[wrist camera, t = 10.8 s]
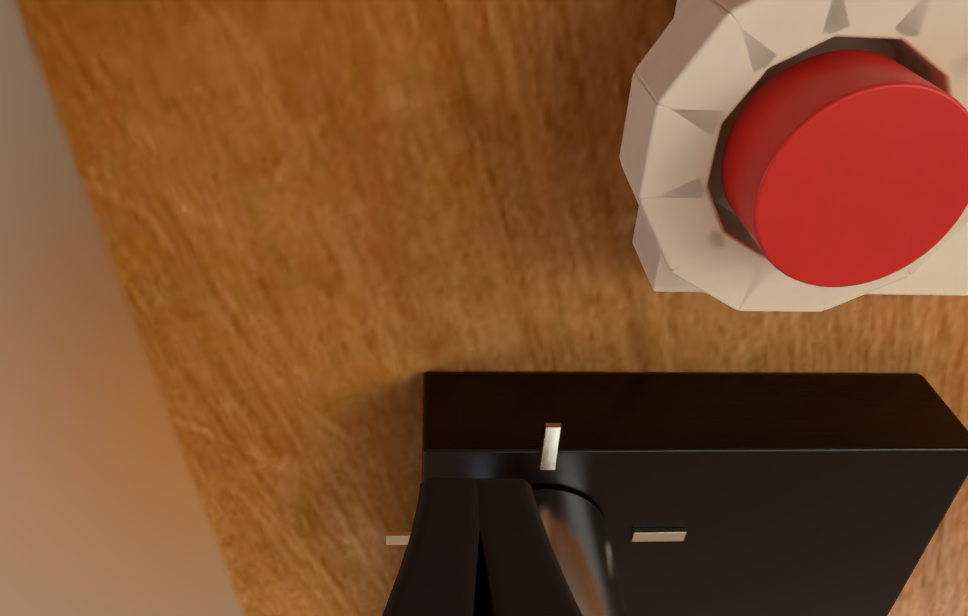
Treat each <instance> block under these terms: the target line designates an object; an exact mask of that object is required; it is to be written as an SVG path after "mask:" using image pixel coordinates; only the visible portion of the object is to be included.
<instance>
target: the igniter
mask: <svg viewBox="0 0 968 616" xmlns="http://www.w3.org/2000/svg"><path fill="white" fill-rule="evenodd" d="M853 49H856V50H865V51H871V52H875V53H878V54H882V55H884V56H886V57H888V58H891V59H893V60H894V61H896V62H898V63H899V64H901V65H903V66H904V67H906V68H907V69H909V70H911V71H912V72H914V73H916V74H917V75H919V76H920V77H922V78H924V79H925V80H927V81H929V82H930V83H932V84H933V85H935V86H937V87H938V88H940V89H942V90H943V91H945V92H946V93H948V94H949V95H951V96H952V97H954V98H955V99H957V100H958V101H959V102H960V103H961V104H962V105H963V106H964V107H965V108H966V110H967V111H968V0H677V2H676V8H675V13H674V18H673V19H672V21H671V22H670V23H669V25H668V26H667V27H666V29H665V30H664V31H663V33H662V34H661V36H660V37H659V38H658V40H657V41H656V42H655V44H654V45H653V46H652V48H651V49H650V50H649V52H648V53H647V54H646V56H645V57H644V58H643V60H642V61H641V62H640V64H639V65H638V66H637V68H636V70H635V72H634V73H633V76H632V83H631V89H630V95H629V101H628V107H627V113H626V119H625V126H624V132H623V138H622V144H621V150H620V156H619V158H620V160H621V166H622V168H623V171H624V173H625V175H626V177H627V180H628V182H629V184H630V187H631V189H632V191H633V193H634V196H635V198H636V200H637V202H638V205H639V208H638V213H637V219H636V224H635V230H634V235H633V241H632V243H633V246H634V248H635V250H636V253H637V255H638V257H639V260H640V262H641V264H642V266H643V269H644V271H645V273H646V276H647V278H648V280H649V282H650V285H651V287H652V289H653V291H655V292H705V293H707V294H709V295H711V296H712V297H714V298H716V299H717V300H719V301H721V302H723V303H724V304H726V305H728V306H729V307H731V308H733V309H735V310H738V311H784V312H821V311H825V310H828V309H830V308H833V307H835V306H837V305H840V304H842V303H845V302H847V301H850V300H852V299H854V298H857V297H859V296H862V295H864V294H878V295H957V296H968V204H967V206H966V208H965V210H964V211H963V213H962V214H961V216H960V218H959V219H958V221H957V222H956V223H955V224H954V226H953V227H952V228H951V229H950V231H949V232H948V233H947V234H946V235H945V236H944V237H943V238H942V239H941V240H940V241H939V242H938V243H937V244H936V245H935V246H934V247H933V248H931V249H930V250H929V251H928V252H927V253H925V254H924V255H923V256H921V257H920V258H918V259H917V260H916V261H914V262H913V263H911V264H909V265H908V266H906V267H904V268H902V269H901V270H899V271H897V272H895V273H892V274H890V275H888V276H886V277H883V278H880V279H878V280H875V281H872V282H868V283H864V284H860V285H854V286H848V287H820V286H815V285H810V284H806V283H803V282H800V281H797V280H794V279H792V278H790V277H788V276H787V275H785V274H783V273H782V272H780V271H779V270H778V269H776V268H775V267H774V266H773V265H772V264H771V263H770V262H769V261H768V260H767V258H766V257H765V255H764V254H763V252H762V251H761V250H760V248H759V247H758V245H757V244H756V242H755V241H754V240H753V238H752V237H751V235H750V234H749V232H748V231H747V230H746V228H745V227H744V225H743V224H742V222H741V221H740V220H739V218H738V217H737V215H736V214H735V212H734V211H733V209H732V208H731V206H730V204H729V202H728V200H727V198H726V195H725V192H724V188H723V183H722V174H721V172H722V158H723V152H724V148H725V144H726V141H727V138H728V135H729V133H730V131H731V128H732V126H733V124H734V122H735V120H736V119H737V117H738V115H739V114H740V112H741V110H742V109H743V108H744V107H745V105H746V104H747V103H748V101H749V100H750V99H751V98H752V97H753V96H754V94H755V93H756V92H757V91H758V90H759V89H760V88H761V87H762V86H764V85H765V84H766V83H767V82H768V81H769V80H770V79H772V78H773V77H774V76H776V75H777V74H779V73H780V72H782V71H783V70H785V69H786V68H788V67H790V66H792V65H794V64H796V63H797V62H800V61H802V60H804V59H807V58H809V57H812V56H815V55H819V54H822V53H826V52H831V51H837V50H853Z"/></svg>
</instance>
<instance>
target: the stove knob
mask: <svg viewBox="0 0 968 616" xmlns="http://www.w3.org/2000/svg"><path fill="white" fill-rule="evenodd" d="M532 491H533V494H534V498H535V501H536V504H537V507H538V510H539V513H540V516H541V519H542V522H543V525H544V528H545V530H546V533H547V535H548V538H549V541H550V543H551V546H552V548H553V551H554V553H555V555H556V558H557V560H558V562H559V565H560V567H561V570H562V572H563V574H564V577H565V579H566V581H567V583H568V585H569V588H570V590H571V592H572V594H573V596H574V598H575V600H576V602H577V605H578V607H579V609H580V611H581V613H582V615H583V616H628V613H627V609H626V605H625V601H624V596H623V592H622V588H621V584H620V580H619V575H618V571H617V567H616V563H615V559H614V554H613V550H612V546H611V542H610V538H609V534H608V529H607V525H606V522H605V519H604V517H603V515H602V514H601V512H600V511H599V510H598V508H597V507H596V506H595V505H593V504H592V503H591V502H590V501H588V500H587V499H585V498H583V497H581V496H579V495H577V494H574V493H571V492H567V491H563V490H556V489H534V490H532Z"/></svg>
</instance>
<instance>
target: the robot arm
mask: <svg viewBox="0 0 968 616" xmlns="http://www.w3.org/2000/svg"><path fill="white" fill-rule="evenodd" d="M382 616H583V615H582V613H581V611H580V609H579V607H578V605H577V602H576V600H575V598H574V596H573V594H572V592H571V590H570V588H569V585H568V583H567V581H566V579H565V577H564V574H563V572H562V570H561V567H560V565H559V562H558V560H557V558H556V555H555V553H554V551H553V548H552V546H551V543H550V541H549V538H548V535H547V533H546V530H545V528H544V525H543V522H542V519H541V516H540V513H539V510H538V507H537V504H536V501H535V498H534V494H533V491H532V487H531V485H530V484H529V483H528V482H527V481H526V480H524V479H500V478H428V479H427V480H425V481H424V482H422V483H421V484H420V491H419V500H418V505H417V510H416V514H415V519H414V523H413V527H412V531H411V534H410V538H409V541H408V545H407V548H406V551H405V554H404V557H403V560H402V564H401V567H400V570H399V573H398V575H397V578H396V581H395V583H394V586H393V589H392V591H391V594H390V597H389V599H388V602H387V605H386V607H385V610H384V613H383V615H382Z"/></svg>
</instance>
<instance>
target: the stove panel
mask: <svg viewBox="0 0 968 616" xmlns="http://www.w3.org/2000/svg"><path fill="white" fill-rule="evenodd" d="M967 476H968V430H967V429H966V428H965V427H964V425H963V424H962V423H961V422H960V421H959V419H958V418H957V417H956V416H955V415H954V413H953V412H952V411H951V410H950V408H949V407H948V406H947V405H946V404H945V402H944V401H943V400H942V399H941V397H940V396H939V395H938V394H937V393H936V391H935V390H934V389H933V388H932V387H931V385H930V384H929V383H928V382H927V380H926V379H925V378H924V377H923V376H922V375H920V374H742V373H495V372H426V373H424V375H423V423H422V482H424V481H425V480H427V479H428V478H500V479H524V480H526V481H527V482H528V483H529V484H530V485H531V487H532V490H534V489H556V490H563V491H567V492H571V493H574V494H577V495H579V496H581V497H583V498H585V499H587V500H588V501H590V502H591V503H592V504H593V505H595V506H596V507H597V508H598V510H599V511H600V512H601V514H602V515H603V517H604V519H605V522H606V525H607V529H608V534H609V538H610V542H611V546H612V550H613V554H614V559H615V563H616V567H617V571H618V575H619V580H620V584H621V588H622V592H623V596H624V601H625V605H626V609H627V613H628V616H887V615H888V613H889V612H890V610H891V608H892V606H893V605H894V603H895V601H896V599H897V598H898V596H899V594H900V592H901V591H902V589H903V587H904V585H905V584H906V582H907V580H908V579H909V577H910V575H911V573H912V572H913V570H914V568H915V566H916V565H917V563H918V561H919V559H920V558H921V556H922V554H923V552H924V551H925V549H926V547H927V545H928V544H929V542H930V540H931V538H932V537H933V535H934V533H935V531H936V530H937V528H938V526H939V524H940V523H941V521H942V519H943V517H944V516H945V514H946V512H947V510H948V509H949V507H950V505H951V504H952V502H953V500H954V498H955V497H956V495H957V493H958V491H959V490H960V488H961V486H962V484H963V483H964V481H965V479H966V477H967ZM410 534H411V531H390V532H386V545H408V541H409V538H410Z"/></svg>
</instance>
